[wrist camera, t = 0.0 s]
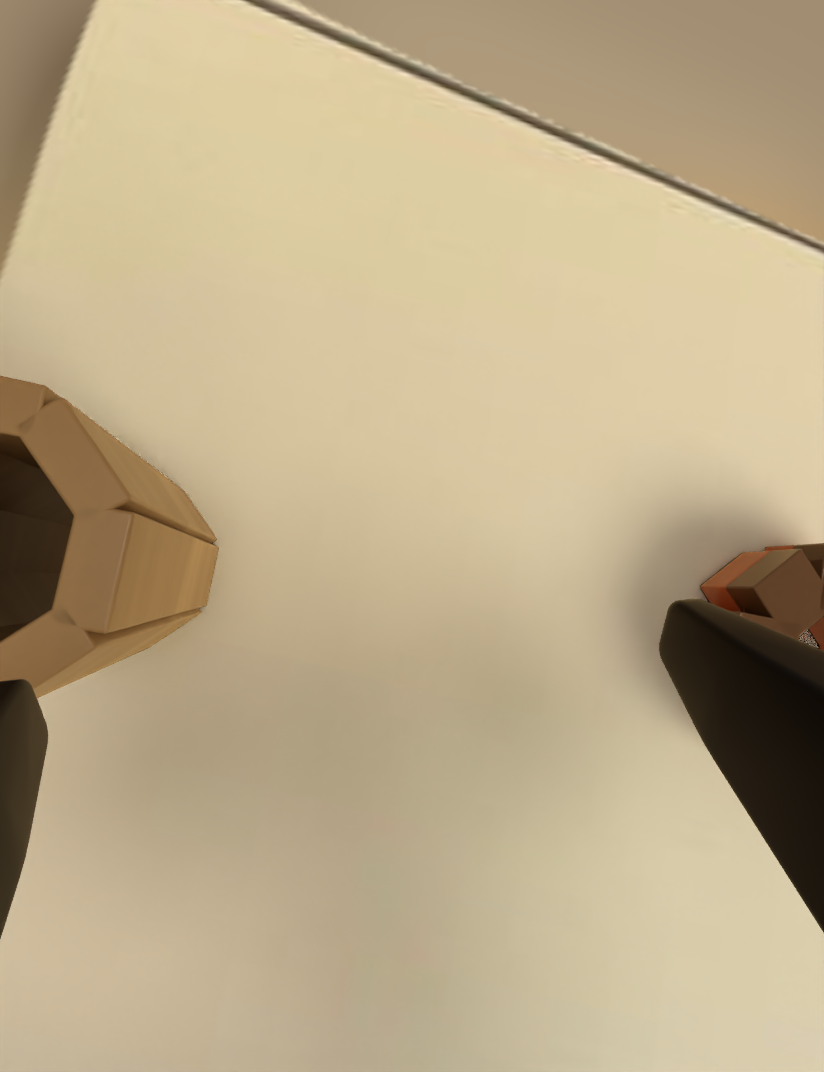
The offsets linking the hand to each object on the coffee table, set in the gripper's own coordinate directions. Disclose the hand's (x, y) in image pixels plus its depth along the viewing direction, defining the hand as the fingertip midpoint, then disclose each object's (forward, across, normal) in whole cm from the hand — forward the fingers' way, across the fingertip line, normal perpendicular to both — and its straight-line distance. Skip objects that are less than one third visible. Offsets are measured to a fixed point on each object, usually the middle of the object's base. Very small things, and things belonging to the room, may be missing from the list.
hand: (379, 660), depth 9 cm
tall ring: (+14, +7, +6) cm, 17 cm away
